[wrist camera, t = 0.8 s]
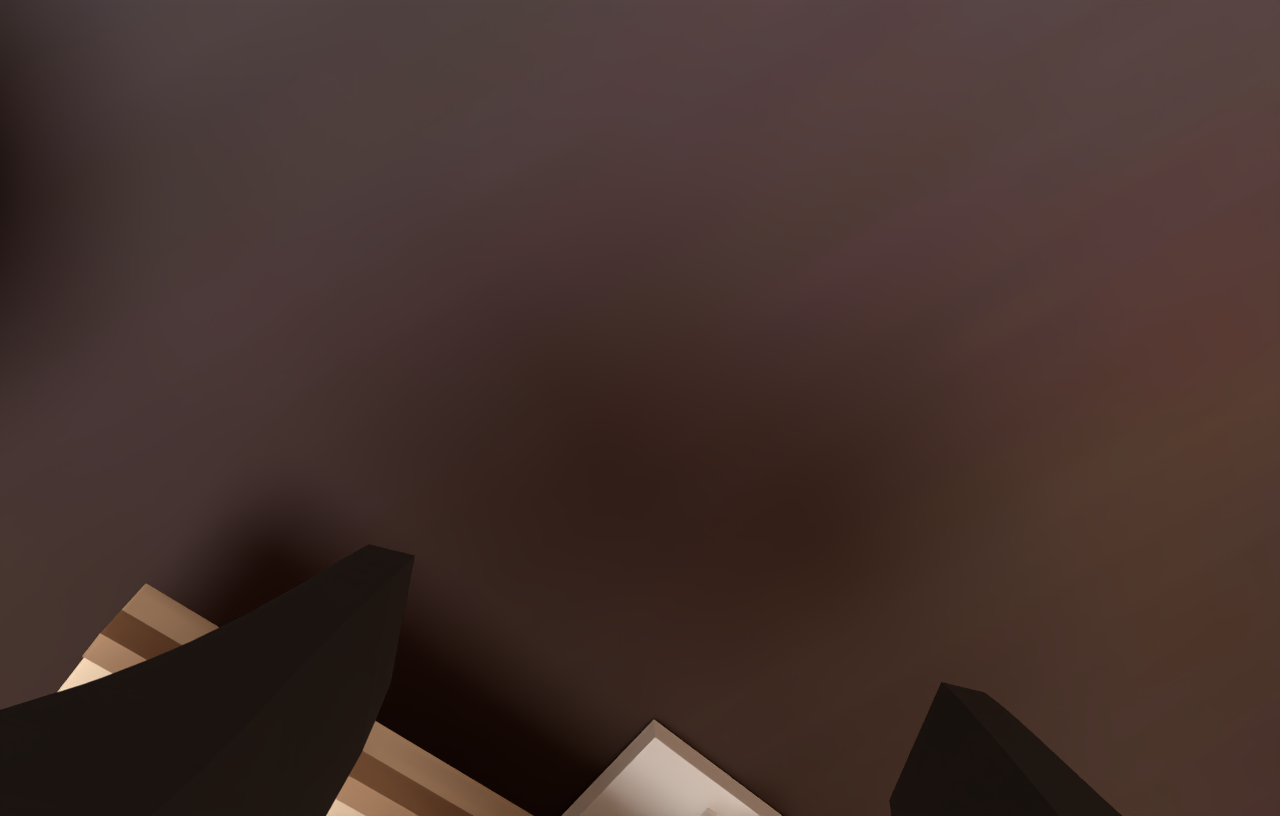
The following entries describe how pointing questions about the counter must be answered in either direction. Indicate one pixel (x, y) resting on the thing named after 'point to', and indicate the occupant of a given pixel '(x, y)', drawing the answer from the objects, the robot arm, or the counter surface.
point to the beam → (385, 771)
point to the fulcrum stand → (665, 783)
